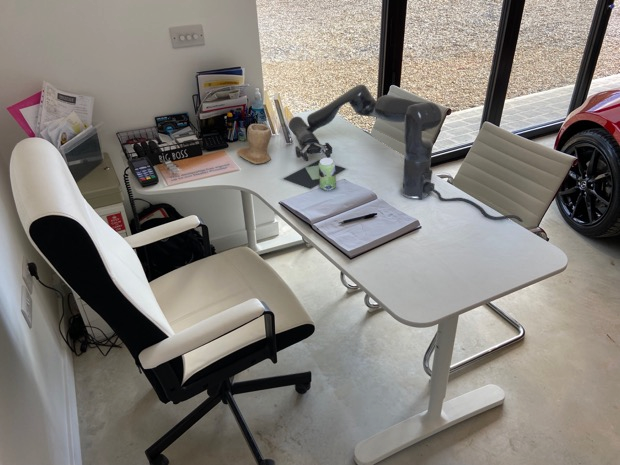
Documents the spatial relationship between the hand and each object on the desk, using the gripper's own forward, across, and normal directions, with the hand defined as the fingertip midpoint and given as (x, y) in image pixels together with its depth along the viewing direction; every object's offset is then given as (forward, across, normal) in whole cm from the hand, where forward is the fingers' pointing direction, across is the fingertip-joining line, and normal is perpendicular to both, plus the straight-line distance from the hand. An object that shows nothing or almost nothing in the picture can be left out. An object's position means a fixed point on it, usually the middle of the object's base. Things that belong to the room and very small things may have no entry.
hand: (317, 157), depth 191 cm
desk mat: (-3, +1, -8) cm, 9 cm away
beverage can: (+11, -1, -8) cm, 14 cm away
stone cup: (-25, +21, -9) cm, 34 cm away
